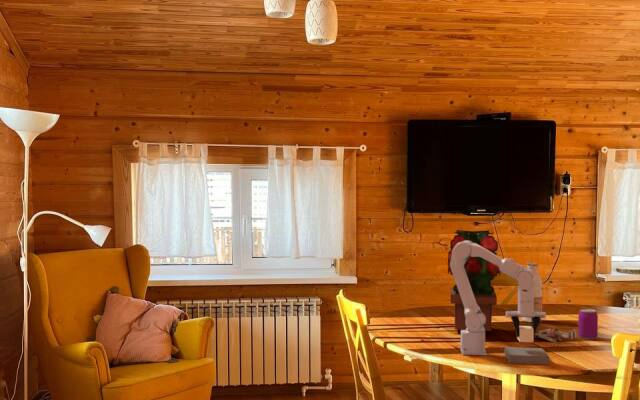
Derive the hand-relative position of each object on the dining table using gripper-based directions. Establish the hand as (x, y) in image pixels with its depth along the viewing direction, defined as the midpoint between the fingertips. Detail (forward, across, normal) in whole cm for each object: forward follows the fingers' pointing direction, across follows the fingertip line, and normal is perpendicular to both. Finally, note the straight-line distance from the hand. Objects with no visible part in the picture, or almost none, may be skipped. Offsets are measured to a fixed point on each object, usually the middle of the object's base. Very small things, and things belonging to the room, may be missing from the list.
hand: (525, 336), depth 243 cm
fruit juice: (+9, -17, -71) cm, 73 cm away
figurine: (+9, -16, -30) cm, 35 cm away
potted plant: (+9, +14, -45) cm, 48 cm away
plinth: (+8, 0, +1) cm, 8 cm away
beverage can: (+9, -33, -38) cm, 51 cm away
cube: (+2, 0, 0) cm, 2 cm away
